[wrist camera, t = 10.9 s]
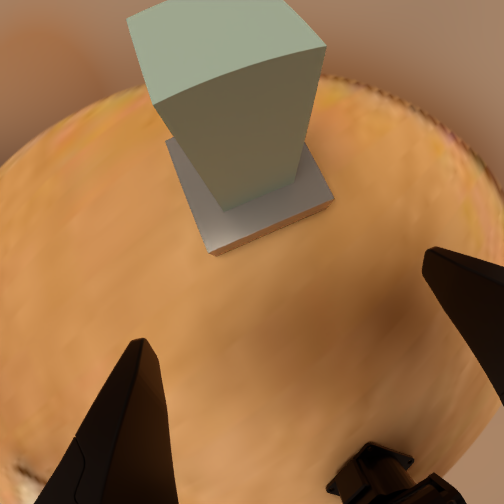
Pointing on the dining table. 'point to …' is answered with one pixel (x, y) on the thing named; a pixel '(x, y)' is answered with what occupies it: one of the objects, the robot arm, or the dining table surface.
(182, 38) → the sage green block
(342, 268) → the dining table surface
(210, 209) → the slate plinth
